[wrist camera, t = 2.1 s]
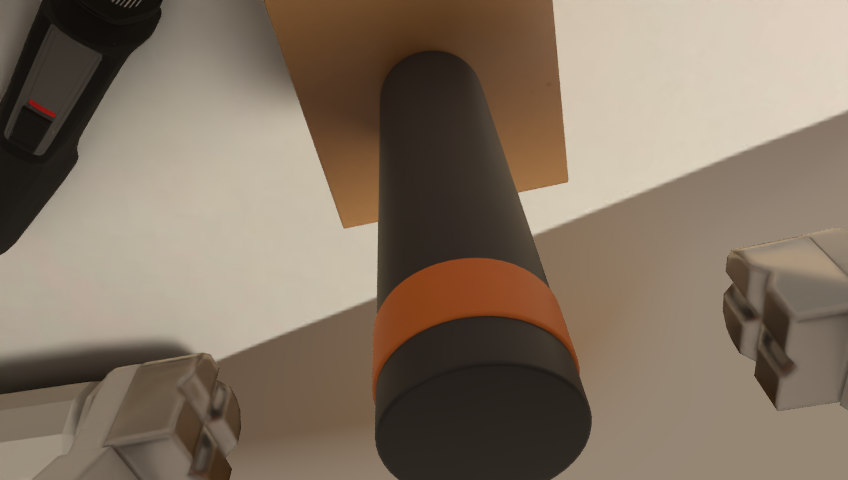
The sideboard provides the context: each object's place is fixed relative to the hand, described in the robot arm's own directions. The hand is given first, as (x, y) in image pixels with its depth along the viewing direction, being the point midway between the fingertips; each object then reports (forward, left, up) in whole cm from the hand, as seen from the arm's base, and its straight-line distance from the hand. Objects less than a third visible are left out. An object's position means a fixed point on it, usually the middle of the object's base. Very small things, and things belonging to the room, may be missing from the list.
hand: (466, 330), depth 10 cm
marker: (0, 0, -9) cm, 9 cm away
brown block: (0, 0, -19) cm, 19 cm away
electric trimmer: (+1, -16, -19) cm, 25 cm away
